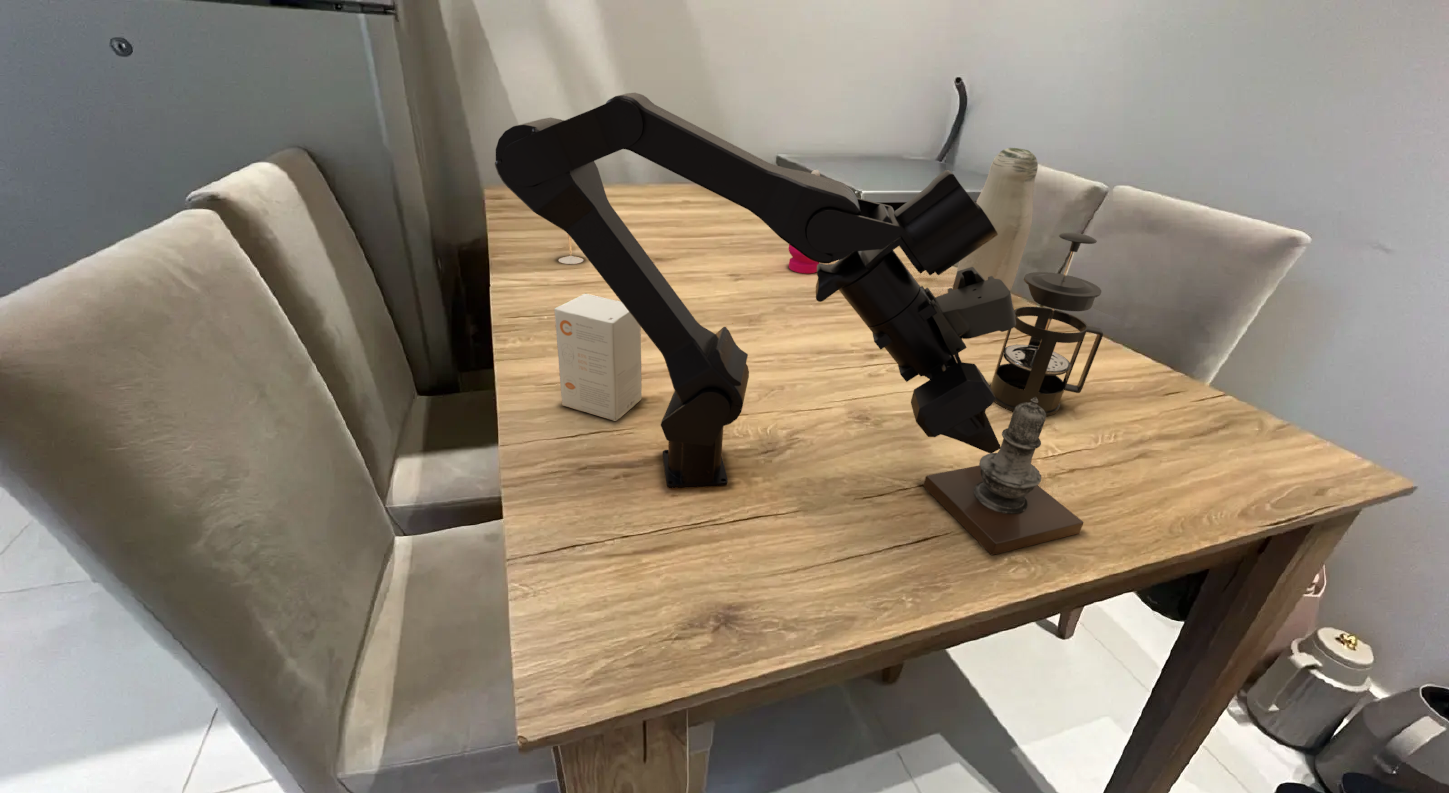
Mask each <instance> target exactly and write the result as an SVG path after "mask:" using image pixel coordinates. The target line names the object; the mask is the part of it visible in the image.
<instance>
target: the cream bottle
mask: <svg viewBox="0 0 1449 793" xmlns="http://www.w3.org/2000/svg"><path fill="white" fill-rule="evenodd" d="M1038 163H1039V162H1038V159H1037V156H1036V155H1035V154H1034V153H1033V152H1032V151H1030V150H1028V149H1024V148H1019V147H1007V148H1004V149H1002V150H1000V151H999V152H998V153H997V154H996V155H995V157H994V158H993V161H992V162H991V165H990V167H989V171H988V174H987V178H986V180H985V183H984V186H983V188H982V190H981V192H980V193H979V195H978V197H977V199H976V201H975V202H976V203H977V204H978V205H979V206H980V207H981V208H982V210H983V211H984V212H985V214H986V215H987V217H988V218H989V220H990V222H991V223H992V225H993V226H994V228H995V230H996V231H997V233H998V235H997V236H996V237H994V238H993V239H992V240H990V241H989V242H987V243H986V244H984V245H983V246H981V247H980V248H978V249H977V250H975V251H974V252H972V253H971V254H969V255H968V256H967V257H965V258H964V259H962V260H961V261H959V262H958V264H957V268H956V273H955V275H956V274H957V272H958V271H960V270H963V269H966V268H970V267H973V268H974V269H975V270H976V271H977V272H978V273H979V274H980V275H981V276H982V277H983V278H984V280H985V281H986V280H988V277H990V276H993V277H994V279H1000V280H1002V282H1003V283H1004V284H1005V285H1006V287H1007V288H1008V289H1009V290H1010V291H1011V290H1012V288H1013V285H1014V283H1015V281H1016V277H1017V275H1018V270H1019V267H1020V265H1021V261H1022V258H1023V255H1024V251H1025V249H1026V245H1027V243H1028V239H1029V236H1030V233H1031V229H1032V223H1033V212H1034V202H1033V201H1034V191H1035V180H1036V177H1037V174H1038V169H1039V165H1038Z"/></svg>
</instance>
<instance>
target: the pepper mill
mask: <svg viewBox="0 0 1449 793" xmlns="http://www.w3.org/2000/svg"><path fill="white" fill-rule="evenodd" d="M811 173H812V174H815V175H818V176H821V172H820V170H818V169H813V170H812V171H811ZM788 252H789V254H790V256H791V257H790V258H789V259H788V260H789V261H788V269H789V270H791V271H792V272H795V273H798V274H814V273H817V265H818V264H820V263H819V262H816V261H813V260H811V259H809V258H807V257H806V256H805V255H803V254H802V253H800V252H799V251H798V250H796V249H795V248H794V247H792V246H791V245H790V244H788Z"/></svg>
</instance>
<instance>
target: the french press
mask: <svg viewBox="0 0 1449 793" xmlns="http://www.w3.org/2000/svg"><path fill="white" fill-rule="evenodd" d="M1058 237H1059V238H1060V239H1062V240H1064V241H1068V242H1071V244H1070V246H1069V252H1070V254H1069V255H1070V256H1069V258H1068V260H1067V263H1066V266H1065V268H1064V273H1057V272H1049V271H1035V272H1030V273H1029V272H1028V273H1026V274H1025V275H1024V277H1023V281H1024V283H1025V284H1027V286H1028V290H1029V292H1030V296H1031V297H1032V299H1033V301H1034V302H1035V303H1036V304H1037V305H1040V306H1019V307H1017V308H1015V309H1014V314H1015V320H1016V326H1015V327H1014V328H1013V329H1016V330H1017V331H1019V332H1020V333H1022V334H1024V335H1026V336H1029V337H1030V338H1029V342H1028V344H1012V345H1008V341H1009V338H1010V335H1011V332H1012V329H1010V330H1007V331H1006V335H1005V338H1004V340H1003V341H1004V342H1003V344H1002V348H1001V351H1000V354H999V356H998V357H999V358H998V360H997V364H996V367H995V370H994V374H993V377H992V380H991V383H990V384H989V386H990V388H991V390H992V392H993V393H994V395H995V397H996V399H995V401H994V402H995V404H997V406H1000V407H1002V408H1004V409H1006V410H1008V411H1011V412H1014V409H1015V407H1016V406H1017V405H1019V404H1021V403H1026V402H1028V403H1030V402H1032V401H1031V399H1033V398H1035V397H1037V399H1038V403H1036V404H1037V405H1038V406H1040V407H1041V408H1042V409H1043V410H1044V411H1045V413H1046V417H1049V416H1054V415H1055V414H1057V413H1058V412H1059V410H1060V408H1061V400H1062V397H1063V395H1064V392H1071V393H1076V394H1080V393H1081V392H1082V390H1083V388H1084V385H1085V382H1086V380H1087V378H1088V375H1089V373H1090V370H1091V367H1092V365H1093V362H1094V360H1095V357H1096V355H1097V352H1098V350H1099V347H1100V344H1101V342H1102V340H1103V337H1104V331H1103V329H1102V328H1101V327H1096V326H1091V325H1087V323H1086V322H1085V321H1084V320H1083V319H1080V318H1079V317H1077V316H1076V315H1073V314H1070V313H1068V312H1084V311H1085V312H1086V311H1089V310H1090V309H1092V307H1093V305H1094V302H1095V299H1096V298H1098V297H1100V296H1101V294H1102V289H1101V288H1100V287H1099V286H1098V285H1096V284H1095V283H1094V282H1091V281H1088V280H1085V279H1082V278H1080V277H1076V276H1073V275H1069V274H1068V273H1069V271H1070V267H1071V265H1072V261H1073V259H1074V255H1075V253H1078V250H1079V248H1080V246H1081V244H1083V245H1084V244H1085V245H1094V244H1097V243H1098V242H1097V241H1098V240H1097V239H1096V238H1094V237H1093V236H1090V235H1087V234H1084V233H1079V232H1062V233H1060V234H1058ZM1065 311H1067V312H1065ZM1021 317H1037V318H1036V320H1035V323H1034V325H1032V324H1029V323H1027V322H1025V321H1023V320H1022V319H1020V318H1021ZM1052 320H1053V321H1057V322H1061V323H1064V324H1066V325H1069V326H1071V327H1073V328H1075V329H1076V330H1078V331H1077V332H1060V331H1055V330H1054V331H1053V330H1050V325H1051V323H1052ZM1087 333H1089V334H1094V335H1096V336H1095V339H1094V341H1093V344H1092V347H1091V349H1090V352H1089V355H1088V357H1087V360H1086V362H1085V364H1084V367H1083V370H1082V373H1081V375H1080V378H1079V380H1078V383H1077V384H1076V385H1075V384H1071V383H1068V382H1069V378H1070V376H1071V374H1072V370H1073V368H1074V366H1075V363H1076V361H1077V358H1078V355H1079V352H1080V350H1081V348H1082V344H1083V342H1084V339H1085V337H1086V334H1087ZM1057 343H1058V344H1059V343H1060V344H1074V343H1076V345H1075V347H1074V351H1073V353H1072V356H1071V359H1070V361H1069V360H1068V358H1066V357H1064V356H1063V355H1061V354H1060V353H1058V352H1056V351H1055V348H1056V345H1057ZM1007 345H1008V346H1007ZM1003 358H1004V360H1005V361H1006V362H1008V363H1004V364H1001V363H1002V360H1003ZM1064 374H1065V375H1064ZM1061 375H1064V377H1063V379H1061V377H1059V376H1061ZM1020 387H1022V388H1023V389H1022V388H1020ZM994 402H993V403H994Z"/></svg>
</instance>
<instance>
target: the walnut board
mask: <svg viewBox="0 0 1449 793" xmlns="http://www.w3.org/2000/svg"><path fill="white" fill-rule="evenodd" d="M980 471H981V468H980V465H979V464H978V465H974V466H968V467H964V468H963V467H962V468H957V469H952V470H948V471H947V470H946V471H942V472H936V473H931V474H927V475H925V478H924V482H923V488H924V489H925V490H926V491H928V493H929V494H930V495H931V496H932V497H933V498H934V499H935V500H937V501H938V503H940V505H941V506H942V507H943V508H944V509H945V510H946V511H947V512H948V513H949V514H950V515H951V516H952V517H953V518H954V519H955V520H956V521H957V522H958V523H959V524H960V525H961V526H962V527H963V528H964V529H965V530H966V531H967V532H968V533H969V534H970V535H971V536H972V537H973V538H974V539H975V540H976V541H977V542H978V543H979V544H980V545H981V546H982V547H983V548H984V549H985V551H987V552H988V553H989V554H990V555H991V556H995V555H998V554H1002V553H1006V552H1009V551H1015V550H1018V549H1023V548H1027V547H1030V546H1034V545H1039V544H1042V543H1046V542H1049V541H1054V540H1055V541H1056V540H1058V539H1063V538H1067V537H1070V536H1074V535H1079V534H1080V532H1081V530H1082V528H1083V526H1084V523H1085V522H1084V521H1083V520H1082V519H1080V518H1079V517H1078V516H1077V515H1075V514H1074V513H1073V512H1072V511H1071V510H1069V509H1068V508H1067V507H1066V506H1064V505H1063V504H1062V503H1061V502H1059V501H1058V500H1057V499H1056V498H1055V497H1053V496H1052V495H1051V494H1050V493H1048V492H1047V491H1046V490H1045V489H1044V488H1042V487H1041V486H1040V485H1037V486H1036V487H1034V489H1033V490H1032V491H1031V492H1030V493H1029V494H1027V495H1026V496H1025V498H1026V500H1027V502H1028V506H1027V508H1026V510H1025V511H1023V512H1022V513H1018V514H1005V513H1001V512H997V511H994V510H992V509H990V508H988V507H986V506H985V505H983V504H982V503H981V502H980V501H978V499H977V498H976V497H975V494H974V487H975V486H976V484H978V483H980V482H983V481H982V478H981V472H980Z"/></svg>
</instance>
